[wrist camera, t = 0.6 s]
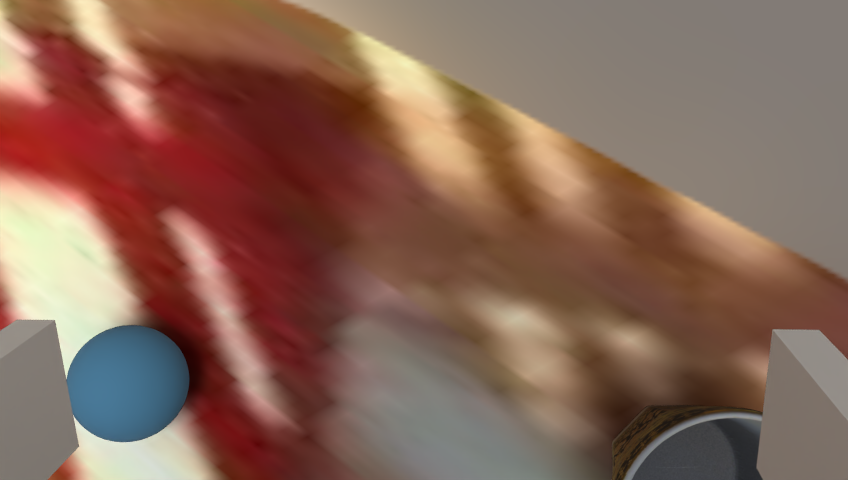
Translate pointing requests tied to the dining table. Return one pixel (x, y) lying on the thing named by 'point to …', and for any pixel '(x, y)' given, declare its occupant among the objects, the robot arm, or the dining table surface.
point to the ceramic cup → (689, 444)
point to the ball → (127, 383)
